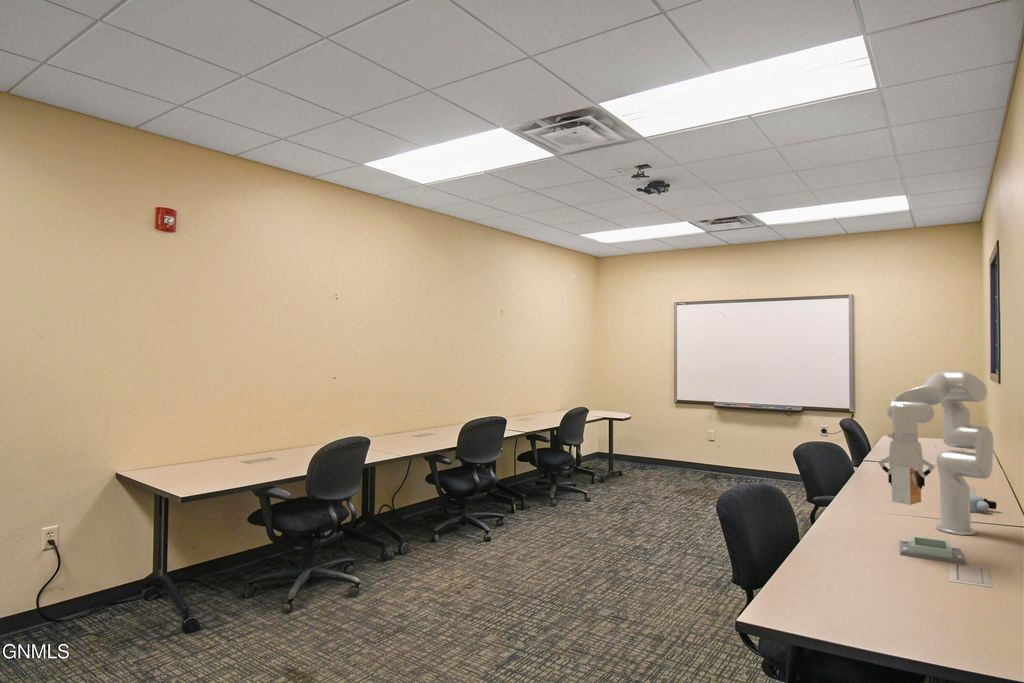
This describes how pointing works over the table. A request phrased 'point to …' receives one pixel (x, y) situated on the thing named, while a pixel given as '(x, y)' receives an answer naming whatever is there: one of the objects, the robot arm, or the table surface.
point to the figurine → (980, 503)
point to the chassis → (931, 549)
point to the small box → (905, 485)
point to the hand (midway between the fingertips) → (906, 486)
